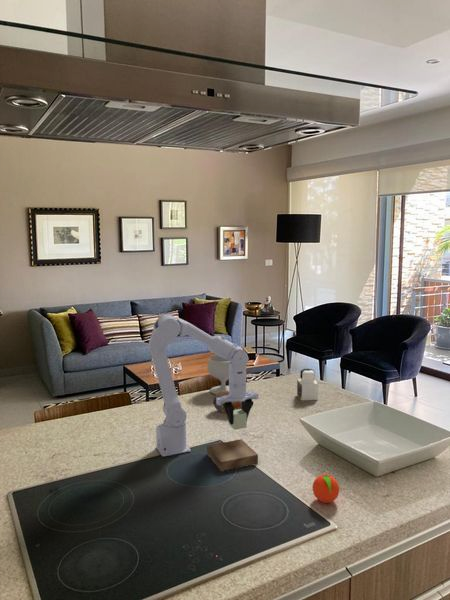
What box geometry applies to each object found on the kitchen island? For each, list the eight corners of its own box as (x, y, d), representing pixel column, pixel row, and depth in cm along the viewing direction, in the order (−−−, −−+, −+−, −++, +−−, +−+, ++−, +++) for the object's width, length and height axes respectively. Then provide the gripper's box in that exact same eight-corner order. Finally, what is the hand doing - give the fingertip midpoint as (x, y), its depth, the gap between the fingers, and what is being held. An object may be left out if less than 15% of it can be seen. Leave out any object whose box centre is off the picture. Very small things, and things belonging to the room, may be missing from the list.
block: (234, 429, 164) (234, 415, 163) (229, 425, 168) (229, 410, 167) (246, 427, 165) (246, 413, 165) (241, 422, 169) (241, 408, 169)
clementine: (343, 509, 127) (344, 483, 126) (317, 511, 126) (317, 485, 125) (334, 493, 135) (335, 468, 134) (309, 494, 134) (309, 469, 133)
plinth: (221, 471, 147) (221, 462, 146) (207, 454, 158) (206, 445, 157) (257, 463, 151) (257, 454, 151) (241, 447, 162) (241, 439, 162)
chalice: (242, 395, 212) (242, 361, 210) (210, 397, 210) (209, 363, 208) (235, 385, 226) (235, 353, 224) (205, 387, 223) (204, 354, 221)
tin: (213, 411, 194) (212, 391, 193) (215, 409, 197) (215, 388, 196) (250, 415, 190) (250, 394, 189) (252, 412, 193) (252, 391, 192)
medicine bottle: (296, 395, 212) (297, 367, 210) (313, 394, 213) (313, 367, 211) (301, 400, 205) (301, 372, 203) (318, 400, 206) (318, 372, 204)
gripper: (221, 389, 158) (222, 430, 160) (262, 383, 163) (262, 423, 165) (213, 383, 164) (214, 422, 166) (253, 377, 170) (253, 415, 172)
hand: (237, 422), depth 166 cm, fingers closed on block, 4 cm apart
